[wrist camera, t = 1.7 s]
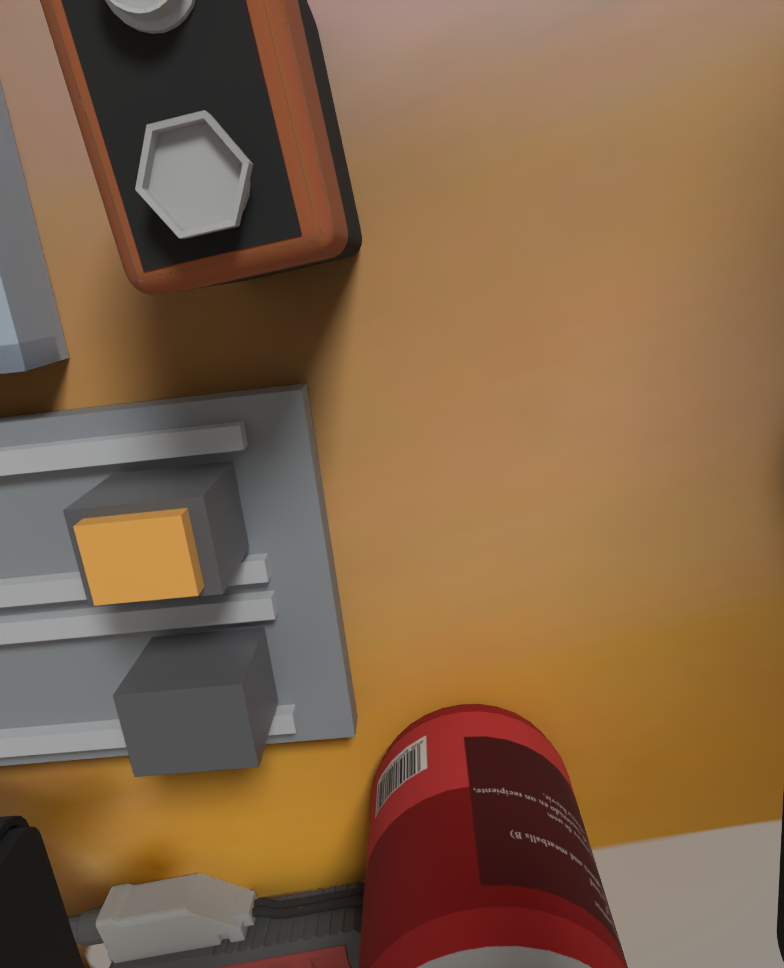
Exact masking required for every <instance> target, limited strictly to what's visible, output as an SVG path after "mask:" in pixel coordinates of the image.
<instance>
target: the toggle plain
mask: <svg viewBox="0 0 784 968" xmlns="http://www.w3.org/2000/svg"><path fill="white" fill-rule="evenodd" d="M113 699H114V703H115V706H116V710H117V714H118V718H119V721H120V725H121V729H122V732H123V736H124V740H125V744H126V747H127V751H128V755H129V758H130V762H131V766H132V770H133V773H134V777H141V776H153V775H166V774H178V773H191V772H203V771H216V770H228V769H240V768H253V767H259V765H260V761H261V758H262V755H263V751H264V748H265V744H266V741H267V738H268V734H269V731H270V728H271V724H272V721H273V717H274V714H275V711H276V707H277V704H278V696H277V691H276V686H275V680H274V675H273V670H272V664H271V659H270V654H269V649H268V643H267V638H266V633H265V627H256V628H245V629H234V630H223V631H213V632H202V633H191V634H180V635H169V636H158V637H152V638H151V639H150V641H149V642H148V644H147V645H146V647H145V648H144V650H143V651H142V653H141V654H140V656H139V657H138V659H137V660H136V662H135V663H134V664H133V666H132V667H131V669H130V670H129V672H128V673H127V675H126V676H125V678H124V679H123V681H122V682H121V684H120V685H119V687H118V688H117V690H116V691H115V693H114V694H113Z"/></svg>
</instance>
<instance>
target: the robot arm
mask: <svg viewBox="0 0 784 968" xmlns="http://www.w3.org/2000/svg"><path fill="white" fill-rule="evenodd" d="M777 939H778V945H779V949H780V952H781V956H782V959H783V961H784V793H783V814H782V834H781V855H780V876H779V897H778V917H777ZM0 968H84V966H83V963H82V960H81V957H80V954H79V951H78V948H77V945H76V941H75V938H74V935H73V932H72V929H71V926H70V923H69V920H68V917H67V914H66V911H65V908H64V904H63V901H62V898H61V895H60V892H59V889H58V886H57V883H56V880H55V877H54V874H53V870H52V867H51V864H50V861H49V858H48V855H47V852H46V849H45V846H44V843H43V840H42V837H41V834H40V832H39V830H38V829H37V828H35V827H29V825H28V823H27V821H26V820H25V819H24V818H23V817H22V816H6V817H0Z"/></svg>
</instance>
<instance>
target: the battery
mask: <svg viewBox="0 0 784 968" xmlns="http://www.w3.org/2000/svg"><path fill="white" fill-rule="evenodd" d="M40 2H41V5H42V8H43V11H44V15H45V18H46V21H47V24H48V27H49V31H50V34H51V37H52V40H53V43H54V47H55V50H56V53H57V56H58V59H59V63H60V66H61V69H62V72H63V76H64V79H65V82H66V85H67V88H68V92H69V95H70V98H71V101H72V104H73V108H74V111H75V114H76V117H77V120H78V124H79V127H80V130H81V133H82V136H83V140H84V143H85V146H86V149H87V152H88V156H89V159H90V162H91V165H92V169H93V172H94V175H95V178H96V181H97V185H98V188H99V191H100V194H101V197H102V201H103V204H104V207H105V210H106V213H107V217H108V220H109V223H110V226H111V229H112V233H113V236H114V239H115V242H116V245H117V249H118V252H119V255H120V258H121V261H122V264H123V267H124V270H125V273H126V275H127V277H128V279H129V281H130V282H131V284H132V285H133V286H134V287H135V288H136V289H138V290H139V291H141V292H143V293H146V294H151V295H154V294H162V293H169V292H175V291H182V290H188V289H195V288H201V287H208V286H214V285H221V284H227V283H234V282H240V281H246V280H250V279H255V278H259V277H264V276H268V275H273V274H277V273H281V272H286V271H290V270H295V269H299V268H304V267H308V266H312V265H317V264H321V263H326V262H330V261H335V260H339V259H343V258H347V257H351V256H353V255H355V254H356V253H357V252H358V251H359V249H360V247H361V244H362V235H361V229H360V224H359V219H358V215H357V210H356V205H355V201H354V196H353V191H352V187H351V182H350V177H349V173H348V168H347V163H346V159H345V154H344V149H343V145H342V140H341V135H340V131H339V126H338V121H337V117H336V112H335V107H334V103H333V98H332V93H331V89H330V84H329V79H328V75H327V70H326V65H325V61H324V56H323V51H322V47H321V42H320V38H319V34H318V30H317V26H316V23H315V20H314V17H313V15H312V12H311V10H310V7H309V5H308V3H307V0H40Z"/></svg>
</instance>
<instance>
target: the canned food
mask: <svg viewBox="0 0 784 968" xmlns="http://www.w3.org/2000/svg"><path fill="white" fill-rule="evenodd" d="M358 968H628V967H627V963H626V960H625V957H624V954H623V950H622V947H621V944H620V941H619V938H618V934H617V931H616V928H615V925H614V921H613V919H612V915H611V912H610V909H609V905H608V902H607V899H606V896H605V892H604V889H603V886H602V883H601V879H600V876H599V873H598V870H597V867H596V863H595V860H594V857H593V854H592V850H591V847H590V844H589V840H588V837H587V834H586V831H585V828H584V824H583V821H582V818H581V815H580V811H579V808H578V805H577V802H576V798H575V795H574V792H573V789H572V785H571V782H570V779H569V776H568V773H567V770H566V768H565V765H564V763H563V761H562V758H561V756H560V755H559V754H558V752H557V751H556V749H555V748H554V747H553V745H552V744H551V743H550V741H549V740H548V739H547V738H546V737H545V736H544V734H543V733H542V732H541V731H539V730H538V729H537V728H536V727H535V726H534V725H533V724H532V723H531V722H529V721H528V720H526V719H524V718H523V717H521V716H519V715H517V714H516V713H514V712H511V711H508V710H505V709H502V708H499V707H495V706H488V705H482V704H465V705H456V706H451V707H447V708H442V709H440V710H437V711H434V712H432V713H429V714H427V715H425V716H423V717H422V718H420V719H418V720H417V721H415V722H414V723H412V724H410V725H409V726H408V727H407V728H406V729H405V730H404V731H403V732H402V733H401V734H400V735H398V737H397V738H396V739H395V741H394V742H393V743H392V745H391V746H390V748H389V749H388V751H387V753H386V754H385V756H384V758H383V760H382V762H381V765H380V767H379V769H378V771H377V774H376V776H375V780H374V785H373V790H372V798H371V811H370V824H369V837H368V849H367V862H366V875H365V888H364V900H363V913H362V926H361V938H360V951H359V964H358Z"/></svg>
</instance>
